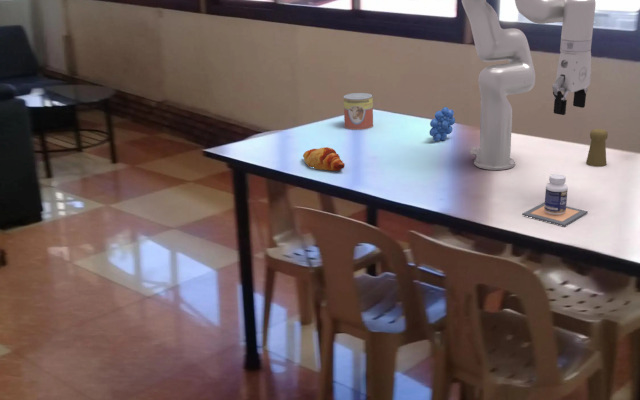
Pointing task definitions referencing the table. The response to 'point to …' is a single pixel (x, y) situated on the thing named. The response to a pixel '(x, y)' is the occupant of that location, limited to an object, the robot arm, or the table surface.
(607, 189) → the table surface
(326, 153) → the croissant
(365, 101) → the canned food
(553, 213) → the pill bottle
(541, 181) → the table surface
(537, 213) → the coaster
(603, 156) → the cork
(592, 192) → the table surface
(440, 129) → the grapes
